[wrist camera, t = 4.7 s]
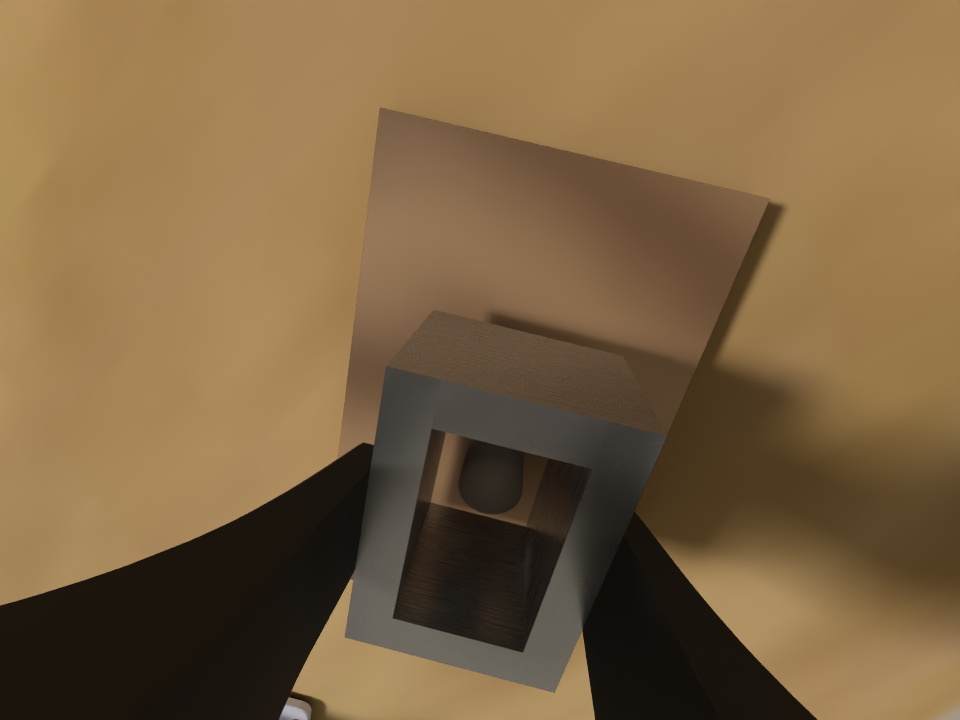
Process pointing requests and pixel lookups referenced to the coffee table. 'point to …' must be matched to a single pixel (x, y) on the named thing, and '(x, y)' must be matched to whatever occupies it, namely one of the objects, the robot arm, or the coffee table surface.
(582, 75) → the coffee table surface
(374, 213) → the keeper board
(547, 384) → the steel link
